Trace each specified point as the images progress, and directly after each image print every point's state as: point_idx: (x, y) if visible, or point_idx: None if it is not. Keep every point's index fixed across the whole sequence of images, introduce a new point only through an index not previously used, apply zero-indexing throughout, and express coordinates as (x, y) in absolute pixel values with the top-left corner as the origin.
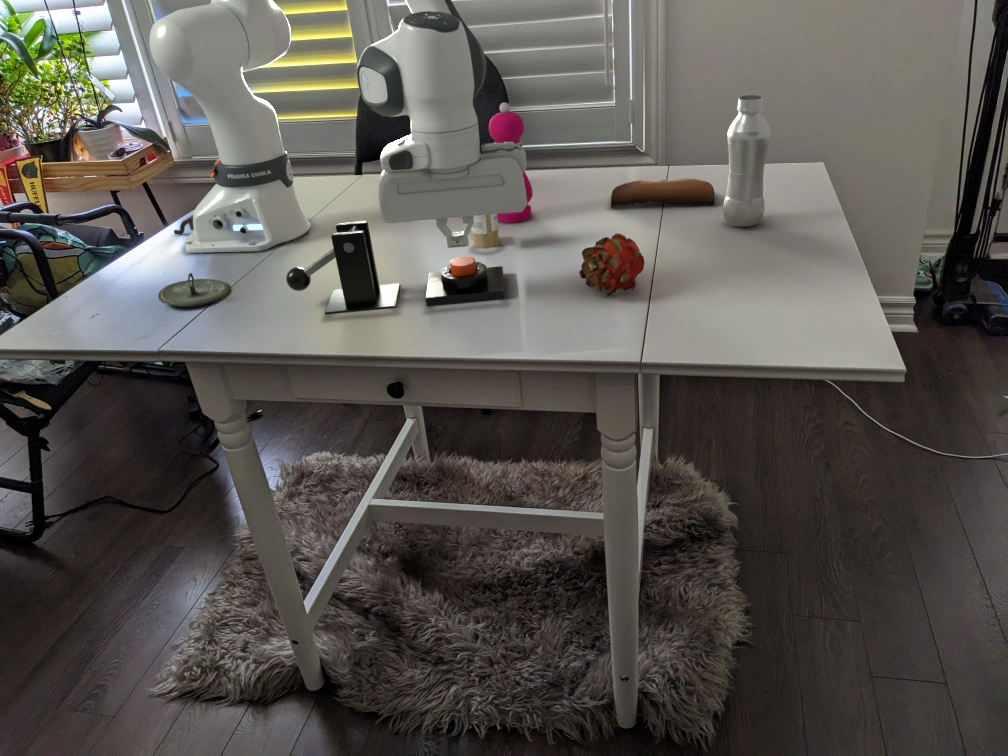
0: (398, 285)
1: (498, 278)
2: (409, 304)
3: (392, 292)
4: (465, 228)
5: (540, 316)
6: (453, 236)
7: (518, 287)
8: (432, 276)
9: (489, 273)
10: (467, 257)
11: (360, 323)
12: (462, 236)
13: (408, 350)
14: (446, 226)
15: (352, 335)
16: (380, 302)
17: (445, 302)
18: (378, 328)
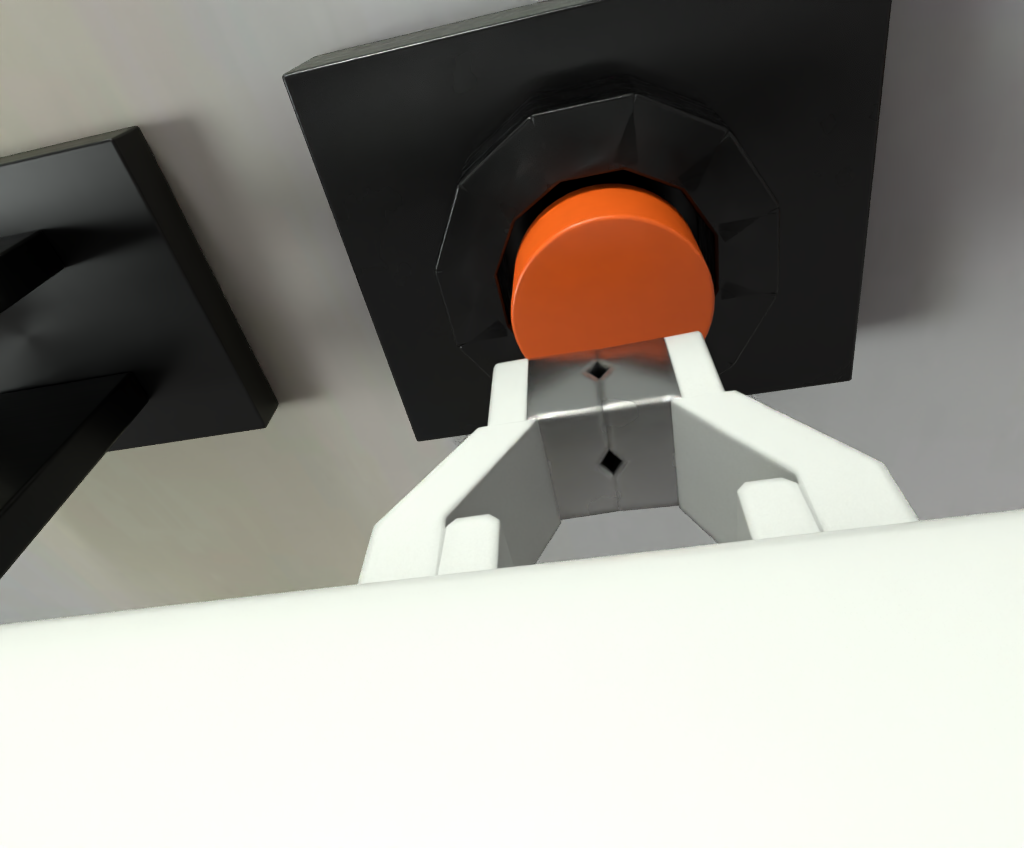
0: (127, 177)
1: (837, 206)
2: (295, 311)
3: (154, 278)
4: (732, 541)
5: (978, 443)
6: (584, 512)
7: (941, 87)
8: (337, 150)
9: (774, 107)
10: (644, 245)
11: (170, 474)
12: (675, 497)
13: None
14: (496, 507)
15: (204, 549)
16: (167, 391)
17: None
18: (274, 510)
